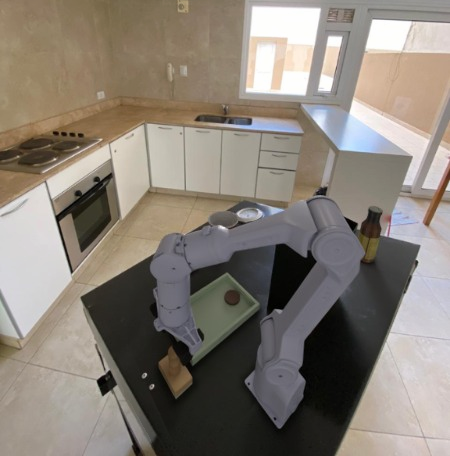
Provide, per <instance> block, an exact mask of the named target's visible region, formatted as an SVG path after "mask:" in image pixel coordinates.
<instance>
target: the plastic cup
mask: <svg viewBox="0 0 450 456" xmlns="http://www.w3.org/2000/svg"><path fill="white" fill-rule="evenodd" d="M239 220H240V218H239V215H238V214H236V213H235V212H233V211H228V210H219V211H215V212H212V213H211V214H210V215H209V216H208V217H207V222H208V225H210V226H211V227H213V226H217V225H221V226H223V227H225V228H227V229H229V230H230V229H233V228H236V227H237V225H238V223H239Z"/></svg>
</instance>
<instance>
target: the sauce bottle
mask: <svg viewBox="0 0 450 456" xmlns="http://www.w3.org/2000/svg"><path fill="white" fill-rule="evenodd" d="M382 215H383V208H380V207H379V206H376V205H370V206H368V209H367V215H366V218H365V219H364V220H363V221H361V224H360V228H359V231H358V234H357V235H358V236H357V238H358V240H359V242H360V243H361V245H362V247H363V249H364V251H365V255H364V256H363V257H362V259H361V260H360V262H361V261H362V262H363V263H366V264H368V263H373V261H374V259H375V257H376V253H377V250H378V247H379V243H380V238H381V233H382V229H383V228H382V226H381V217H382Z"/></svg>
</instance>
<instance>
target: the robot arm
mask: <svg viewBox="0 0 450 456" xmlns="http://www.w3.org/2000/svg"><path fill="white" fill-rule="evenodd" d="M282 244H284V245H286V246H288V247H289V248H291V250H293V251H294V252H296V253H297V254H299V255H300V256H301V257H303V258H308V251H310V252H311V255H312V256H313V259H314V260H315V261H316V263H315V264H314V265H313V266H312V268H311V269H310V271H309V273H308V274H307V275H306V276H305V278H304V280H303V281H302V282H301V284H300V285H299V287H298V288H297V290H296V291H295V292H294V294H293V295H292V296H291V298H290V300H289V301H288V302H287V304H286V305H285V306H284V308H283V309H277V308H274V309H273V310H272V312H271V313H269V314H268V315H266V316H264V317H263V318H262V319H261V320H260V321H259V327H260V328H259V329H260V338H261V339H260V340H261V342H260V344H259V346H258V348H257V353H256V359H255V360H256V361H255V367H254V369H253V371H252V372H251V373H250V374H249V375H248V376H247V377H246V378H245V379H244V384H245V386H246V388H248V389H249V391H250V392H251V394H252V395H253V396H254V398H256V400H257V403H258V404H259V405H260V406H261V408H262V409H263V410H264V411H265V413H266V414H267V415H268V417H269V418H270V420H271V421H272V422H273V424H274V425H275V426H276V428H277V429H282V427H283V426H284V425H285V423H286V422H287V421H288V420H289V418H290V416H291V415H292V414H293V413H294V412H295V411H296V410H297V408H298V406H299V404H300V403H301V401H302V400H303V399H304V390H305V386H306V383H307V382H306V380H305V378H304V377H303V376H302V374H301V372H300V371H299V370H300V369H301V367H302V366H303V361H304V349H305V340H306V339H307V338H308V336H309V335H310V334H311V333H312V331H314V329H315V328H316V327H317V326H318V325H319V323H320V322H321V321H322V320H323V318H324V317H325V316H326V314H327V313H328V312H329V311H330V310H331V308H332V307H333V306H334V305H335V303H336V302H337V300H338V299H340V297H341V296H342V295H343V294H344V292H345V291H346V290H347V289H348V287H349V286H350V284H351V283H352V282H353V281H354V279H355V278H357V276H358V274H359V273H360V270H361V269H360V268H361V259H362V257H363V256H364V255H365V251H364V249H363V247H362V245H361V243H360V242H359V240H358V236H357V235H356V234H355V233H354V232H353V230H352V228H351V227H350V225H349V223H348V222H347V220H346V218H345V217H344V214H343V212H342V210H341V208H340V207H339V205H338V204H337V202H336V201H335V199H333V198H332V197H329V196H326V195H314V196H310V197H309V198H307V199H300V200H297V201H295V202H294V203H292V204H291V205H290V206H288V207H287V208H285V209H283V210H282V211H278V212H276V213H273V214H271V215H267V216H265V217H262V218H259V219H256V220H252V221H250V222H247V223H244V224H242V225H239V226H236V228H233V229H230V230H229V229H227V228H225V227H223V226H221V225H217V226H213V227H211V226H210V224H208V225H204V226H203V227H202V229H199V230H196V231H191V232H189V233H185V234H183V233H181V232H171V233H168V234H165V235H164V236H163V237H162V238H161V240H160V242H159V244H158V246H157V248H156V251H154V252H155V253H154V255H153V257H152V259H151V261H150V264H149V270H150V274H151V275H152V276H153V277H154V279H156V287H155V288H153V289H152V292H153V297H154V299H155V301H154V302H152V303H151V304H150V305H149V311H150V313H151V314H152V316H153V317H154V318H155V319H154V320H153V327H154V328H155V330H156V331H157V332H162V333H163V334H166V333H169V334H171V335H172V336H173V337H174V336H175V337H177V338H178V339H179V340H180V341H178V342H177V341H176V342H175V343H174V344H173V345H171V346H172V348H173V350H174V352H175V353H176V355H177V356H178V358H179V359H180V362H181V364H182V366H185V367H186V365H188V363H190V361H191V360H192V358H193V355H194V354H195V353H196V352H197V351H199V350H200V349H201V348H202V342H203V341H204V334H203V332H202V331H201V330H200V328H198V329H196V325H195V321H194V317H193V313H192V309H191V306H190V296H191V273H193V272H192V270H195V269H196V270H198V269H199V270H200V269H202V268H207V267H211V266H215V265H219V264H222V263H227V262H229V261H230V260H231V258H232V256H233V255H234V253H235V252H241V251H246V250H251V249H257V248H258V249H259V248H263V247H264V248H265V247H270V246H276V245H282ZM196 270H195V271H196ZM175 337H174V338H175Z"/></svg>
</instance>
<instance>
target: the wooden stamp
mask: <svg viewBox="0 0 450 456" xmlns="http://www.w3.org/2000/svg"><path fill="white" fill-rule="evenodd" d="M172 346H173V345H171V346H170V347H168V350H167V355H166V356H165V357H163V358H162V359H160V360H159V361H158V370H159V371H160V373H161V375H162V376H163V378H164V380H165V382H166V384H167V385H168V387H169V389H170V392H171V393H172V395H173V396H174V398H175V400H177V399H178V398H179V397H180V396H181V395H182V394H183V393H184V392H185V391H186V390H188V389H189V388H190V386H192V385H193V376H192V374H191V373H190V372H189V370H188V368H187V367H186V365H185V366H182V364H181V362H180V359H179V358H178V356H177V355H176V353H175V352H174V350H173V348H172Z"/></svg>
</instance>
